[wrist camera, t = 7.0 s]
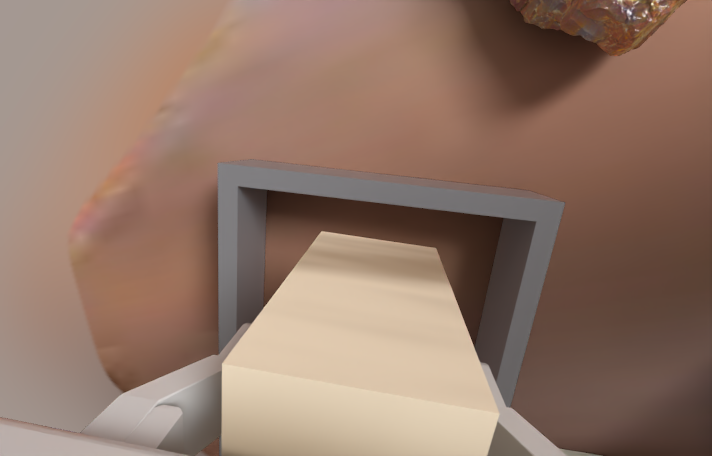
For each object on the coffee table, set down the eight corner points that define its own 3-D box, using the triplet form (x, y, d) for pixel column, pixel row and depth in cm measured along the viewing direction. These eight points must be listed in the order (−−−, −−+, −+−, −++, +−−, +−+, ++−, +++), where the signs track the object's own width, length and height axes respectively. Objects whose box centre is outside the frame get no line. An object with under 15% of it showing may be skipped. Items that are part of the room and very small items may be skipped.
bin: (251, 159, 19) (217, 162, 16) (528, 190, 18) (565, 202, 14) (246, 408, 24) (219, 458, 20) (467, 445, 23) (483, 506, 19)
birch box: (321, 231, 12) (221, 363, 5) (436, 248, 11) (499, 413, 5) (307, 376, 13) (220, 623, 7) (406, 394, 13) (421, 671, 6)
